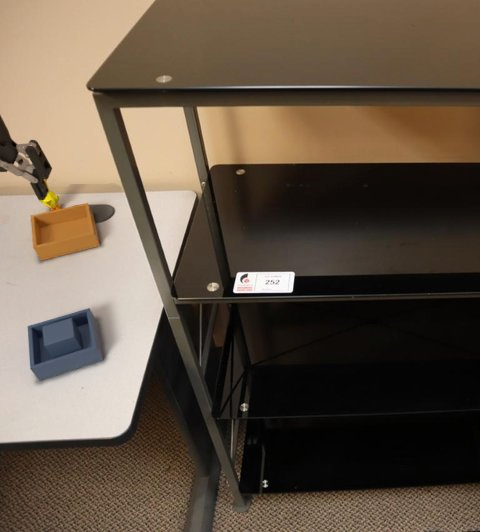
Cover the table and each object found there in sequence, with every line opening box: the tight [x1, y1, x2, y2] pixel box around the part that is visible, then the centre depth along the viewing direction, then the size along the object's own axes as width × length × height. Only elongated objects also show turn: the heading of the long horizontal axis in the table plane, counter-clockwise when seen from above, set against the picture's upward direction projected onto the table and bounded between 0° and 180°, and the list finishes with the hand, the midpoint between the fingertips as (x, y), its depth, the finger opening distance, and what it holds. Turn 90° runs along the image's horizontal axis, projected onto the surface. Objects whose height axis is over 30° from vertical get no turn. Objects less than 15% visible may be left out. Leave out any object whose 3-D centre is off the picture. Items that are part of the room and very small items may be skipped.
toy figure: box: [31, 163, 62, 211], centre depth 110 cm, size 7×4×12 cm, turn 18°
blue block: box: [42, 318, 83, 359], centre depth 87 cm, size 4×4×4 cm
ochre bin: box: [30, 202, 101, 262], centre depth 107 cm, size 11×11×4 cm
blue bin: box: [27, 307, 104, 382], centre depth 88 cm, size 10×10×4 cm
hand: (14, 198), depth 86 cm, fingers open, 8 cm apart
